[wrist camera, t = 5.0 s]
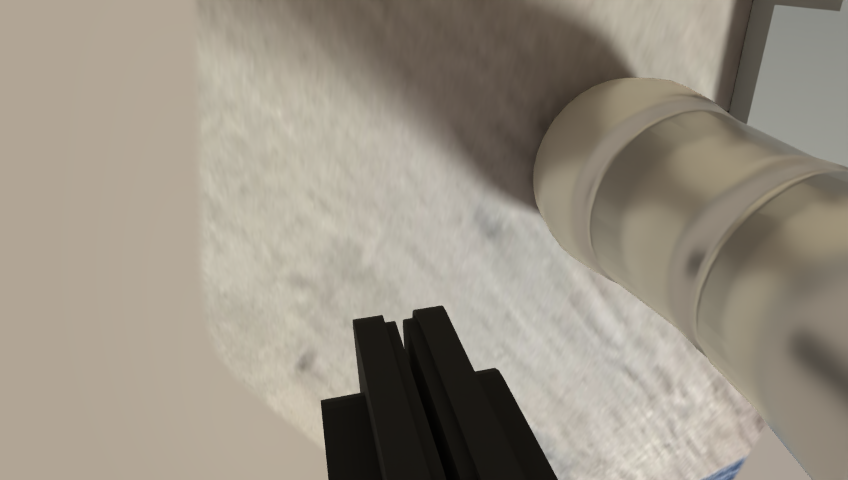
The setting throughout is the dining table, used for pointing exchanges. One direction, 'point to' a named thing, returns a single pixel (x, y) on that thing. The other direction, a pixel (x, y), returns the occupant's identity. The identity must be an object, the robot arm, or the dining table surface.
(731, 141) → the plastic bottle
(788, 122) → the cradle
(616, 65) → the dining table surface
